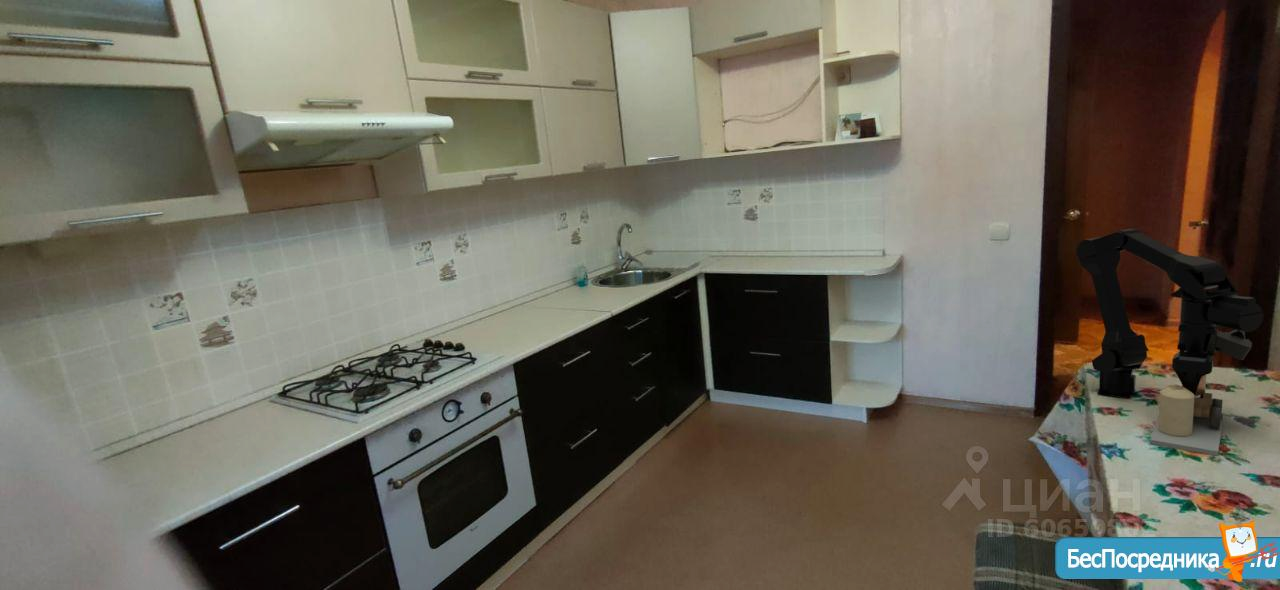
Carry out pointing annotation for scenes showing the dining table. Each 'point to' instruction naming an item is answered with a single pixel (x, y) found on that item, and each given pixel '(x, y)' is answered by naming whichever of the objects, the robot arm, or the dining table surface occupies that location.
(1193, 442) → the ramp board
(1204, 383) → the stop pin
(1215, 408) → the trolley
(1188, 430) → the candle
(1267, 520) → the dining table surface
